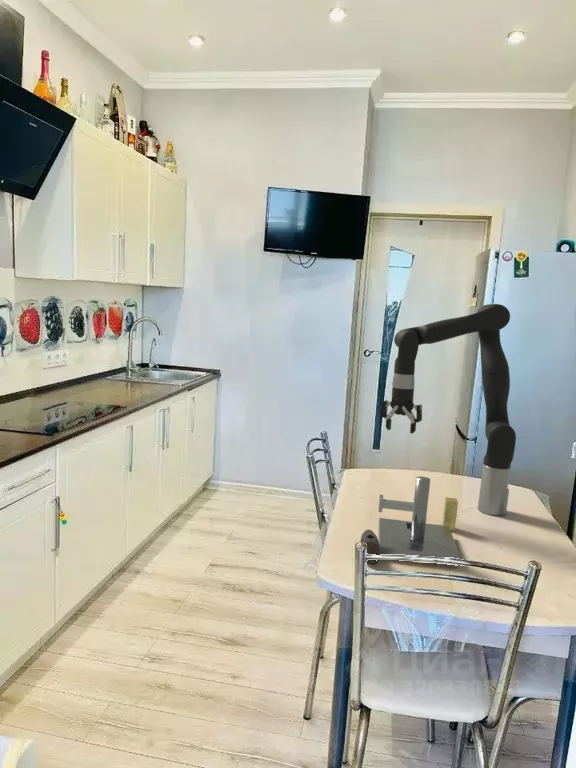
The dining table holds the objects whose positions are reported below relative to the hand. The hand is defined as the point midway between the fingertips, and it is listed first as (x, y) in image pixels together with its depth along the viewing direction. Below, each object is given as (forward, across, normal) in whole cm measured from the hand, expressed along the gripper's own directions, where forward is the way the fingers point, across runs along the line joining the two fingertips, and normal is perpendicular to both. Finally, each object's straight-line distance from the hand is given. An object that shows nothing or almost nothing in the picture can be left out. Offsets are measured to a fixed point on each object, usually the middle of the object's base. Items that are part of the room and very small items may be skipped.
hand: (400, 431), depth 196 cm
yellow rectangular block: (+28, -21, +8) cm, 36 cm away
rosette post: (+28, -17, +29) cm, 44 cm away
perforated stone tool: (+28, -8, +44) cm, 53 cm away
